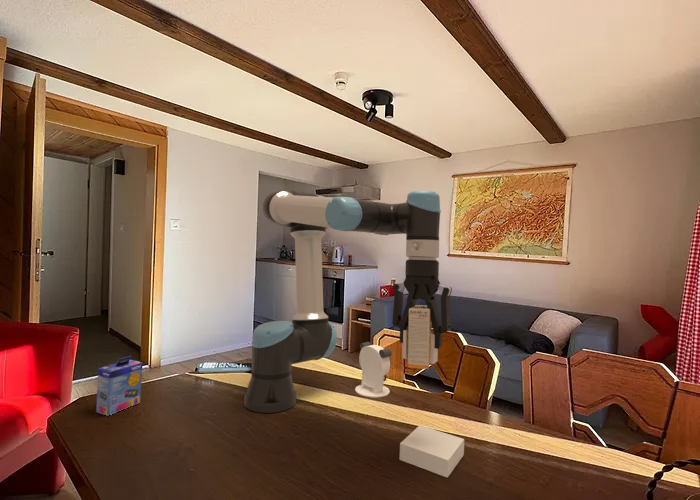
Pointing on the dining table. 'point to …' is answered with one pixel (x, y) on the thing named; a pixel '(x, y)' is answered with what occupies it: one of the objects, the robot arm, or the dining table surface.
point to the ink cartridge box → (118, 386)
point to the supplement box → (419, 337)
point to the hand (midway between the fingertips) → (419, 359)
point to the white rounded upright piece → (373, 370)
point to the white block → (432, 450)
